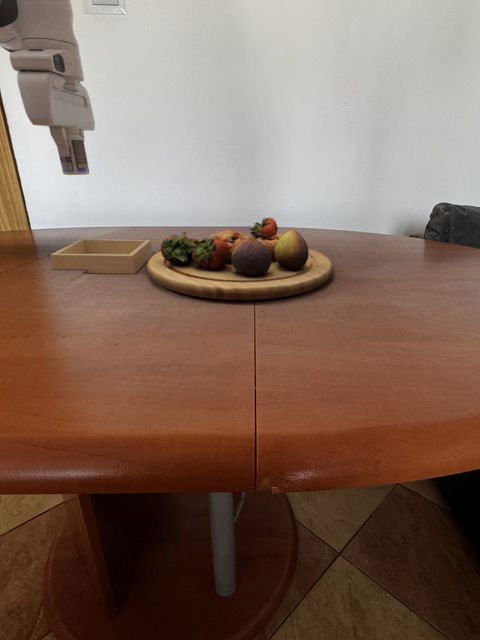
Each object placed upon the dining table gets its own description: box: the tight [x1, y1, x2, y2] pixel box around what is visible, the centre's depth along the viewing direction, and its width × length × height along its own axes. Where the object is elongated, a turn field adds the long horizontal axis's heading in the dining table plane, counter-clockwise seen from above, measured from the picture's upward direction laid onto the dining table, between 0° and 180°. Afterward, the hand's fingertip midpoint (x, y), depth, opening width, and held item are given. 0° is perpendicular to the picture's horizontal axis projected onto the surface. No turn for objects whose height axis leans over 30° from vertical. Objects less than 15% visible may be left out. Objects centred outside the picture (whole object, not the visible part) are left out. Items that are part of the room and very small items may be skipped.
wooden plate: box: [146, 217, 334, 301], centre depth 65 cm, size 32×32×8 cm
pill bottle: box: [58, 124, 90, 176], centre depth 71 cm, size 5×5×8 cm
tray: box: [50, 238, 154, 275], centre depth 69 cm, size 14×13×3 cm
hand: (72, 156), depth 72 cm, fingers closed on pill bottle, 5 cm apart
